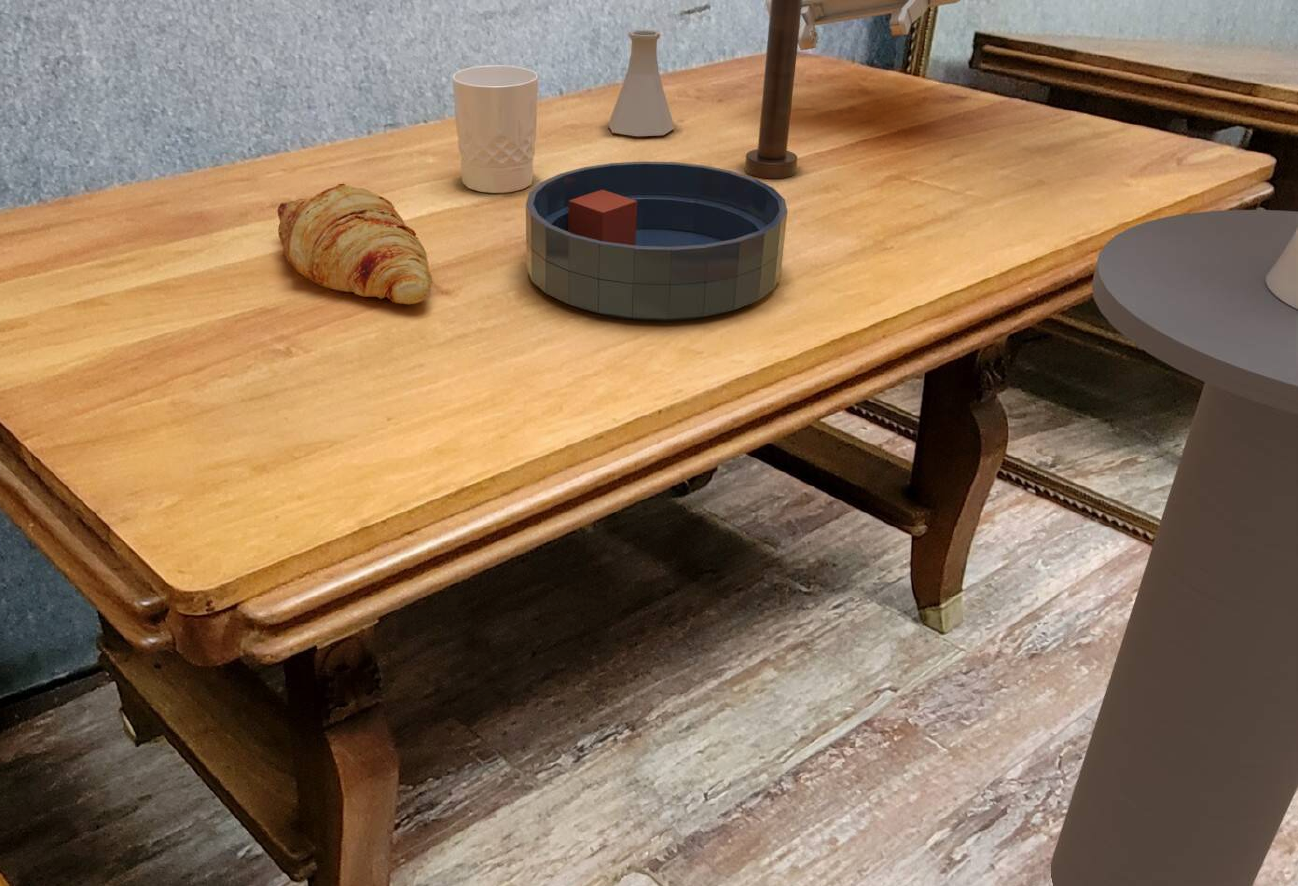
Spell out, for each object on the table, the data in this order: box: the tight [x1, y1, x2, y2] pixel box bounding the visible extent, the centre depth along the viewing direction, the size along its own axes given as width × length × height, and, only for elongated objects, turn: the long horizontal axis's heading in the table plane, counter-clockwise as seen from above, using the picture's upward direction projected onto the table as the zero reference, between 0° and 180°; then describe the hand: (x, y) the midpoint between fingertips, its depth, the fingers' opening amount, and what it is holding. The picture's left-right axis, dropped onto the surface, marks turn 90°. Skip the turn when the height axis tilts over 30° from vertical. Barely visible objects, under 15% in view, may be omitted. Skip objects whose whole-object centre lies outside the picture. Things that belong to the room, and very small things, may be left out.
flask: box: [607, 28, 675, 137], centre depth 131 cm, size 7×7×10 cm
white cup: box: [451, 64, 539, 194], centre depth 116 cm, size 8×8×10 cm
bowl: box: [525, 160, 788, 322], centre depth 98 cm, size 20×20×6 cm
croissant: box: [277, 183, 433, 305], centre depth 99 cm, size 21×10×8 cm, turn 40°
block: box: [568, 190, 637, 246], centre depth 102 cm, size 4×4×4 cm
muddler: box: [744, 0, 802, 180], centre depth 117 cm, size 5×5×18 cm
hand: (850, 37), depth 123 cm, fingers open, 8 cm apart
